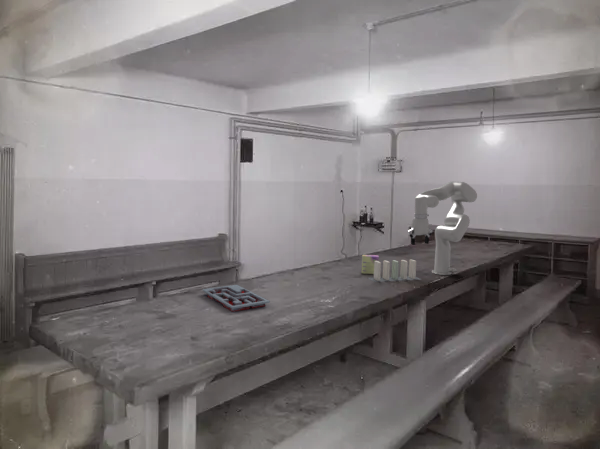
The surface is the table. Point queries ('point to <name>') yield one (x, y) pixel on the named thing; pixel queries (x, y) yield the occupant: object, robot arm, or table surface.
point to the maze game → (236, 297)
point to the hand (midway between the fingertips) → (419, 243)
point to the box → (368, 263)
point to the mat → (394, 279)
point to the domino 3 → (395, 269)
